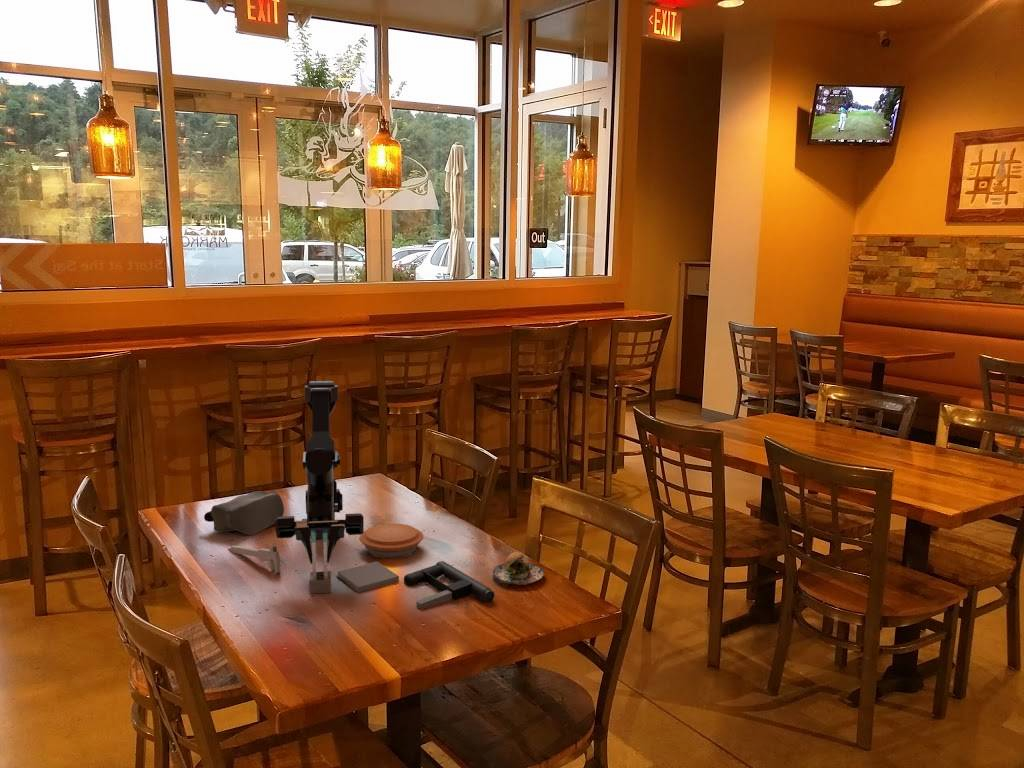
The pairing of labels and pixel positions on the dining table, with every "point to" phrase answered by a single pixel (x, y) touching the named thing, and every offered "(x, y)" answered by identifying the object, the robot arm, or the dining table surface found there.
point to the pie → (391, 540)
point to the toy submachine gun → (454, 591)
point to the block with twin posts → (319, 580)
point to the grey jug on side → (247, 513)
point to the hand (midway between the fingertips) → (319, 562)
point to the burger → (516, 571)
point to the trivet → (367, 576)
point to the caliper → (261, 555)
